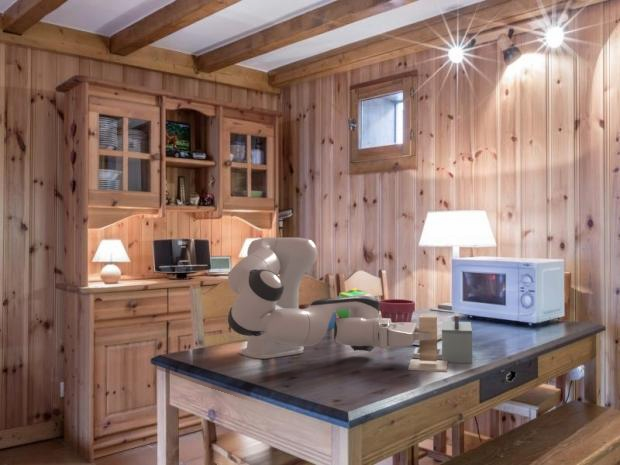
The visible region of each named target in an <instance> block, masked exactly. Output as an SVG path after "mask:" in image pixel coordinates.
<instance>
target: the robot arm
mask: <svg viewBox="0 0 620 465" xmlns="http://www.w3.org/2000/svg"><path fill="white" fill-rule="evenodd" d="M246 254H247V255H246V256H245V257H243V258H242V259H241V260H239V261H238V262H237V263H236V264H235V265H234V266H233V267H232V268H231V269H230V271H229V272H228V275H227V283H228V285H229V286H228V287H230V289H231V290H232V291H233V292H234V293H235V294H237V297H236V299H235V301H234V302H233V305H232V306H231V307H230V309H229V311H228V315H227V323H228V325H229V327H230V328H231V329H232V330H233V331H234V332H235V333H236V334H238V335H242V336H248V337H247V340H246V348H242V349H240V351H239V353H240V354H241V355H242V354H243V355H242V356H245V357H249V358H252V359H253V358H254V359H264V360H265V359H273V358H279V357H286V356H291V355H299V354H304V353H303V352H304V350H305V347H312V346H315V345H317V344H318V343H320V342H321V341H322V340H323V338H324V337H325V336H326V334H327V331H328V330H329V329H328V326H329V323H330V320H331V318H332V316H333V314H334V312H336V310H342V309H348V310H349V318H341V317H340V318H336V321H335V324H334V328H333V340H334V343H336V344H339V345H345V346H349V347H350V348H352V350H353V351H354V352H356V351H363V352H365V351H366V352H369V353H370V352H372V351H373V350H374V349H375V348H380V349H382V350H385V349H386V350H387V349H388V348H401V347H402V348H406V347H412V346H413V345H414V344H415V341H418V342H419V340H430V338H431V334H430V333H419V326H418V324H417V322H412V321H411V322H399V323H392V322H391V319H390V318H382V317H379V316H380V315H379V314H380V311H379V310H380V302H379V301H380V300H378V298H377V297H376V296H375V295H373V294H370V293H368V294H359V295H355V296H352V297H350V296H349V297H338V296H336V297H330V298H322V299H317V300H313V301H312V302H311V304H310V305H309V306H307V307H306V308H300V306H299V303H300V302H299V301H300V300H299V298H300V297H299V296H300V285H301V282H302V279H303V278H304V275H305V274H306V273H307V271H309V269H311V268H312V267H313V266H314V265H315V264H316V261H317V259H318V248H317V246H316V244H315V242H314V241H313V240H312V239H309V238H303V237H263V238H258V239H254V240H252V241H251V243H250V244H249V245H248V247H247V253H246Z"/></svg>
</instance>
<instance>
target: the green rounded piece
mask: <svg viewBox="0 0 620 465" xmlns="http://www.w3.org/2000/svg"><path fill="white" fill-rule="evenodd" d="M338 294H339V295H337V297H349V296H350V297H352V296H355V295H359V294H369V293H368V292H366V291H363V290H359V289H358V288H357V287H352V288H350V289H349V290H346V291H342V292H339V293H338ZM335 312H336V315H337V316H338V317H339V318H340V319H341V318H349V310H348V309H342V310H336V311H335Z"/></svg>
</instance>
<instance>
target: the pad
mask: <svg viewBox="0 0 620 465" xmlns="http://www.w3.org/2000/svg"><path fill="white" fill-rule="evenodd" d="M408 371H423V372H424V371H425V372H445V373H447V372H448V362H447V361H442V359H437V361H420V358H412V359H410V362H409V364H408Z"/></svg>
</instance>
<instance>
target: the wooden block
mask: <svg viewBox="0 0 620 465" xmlns="http://www.w3.org/2000/svg"><path fill="white" fill-rule="evenodd" d="M418 327H419V333H430V334H431V338H430V340H419V341H418V342H419V343H418V344H419V345H418V346H419V347H418V348H419V356H420V358H419V360H420V361H437V360H438V359H437V348H438V315H437V314H420V315H419V317H418Z"/></svg>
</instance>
